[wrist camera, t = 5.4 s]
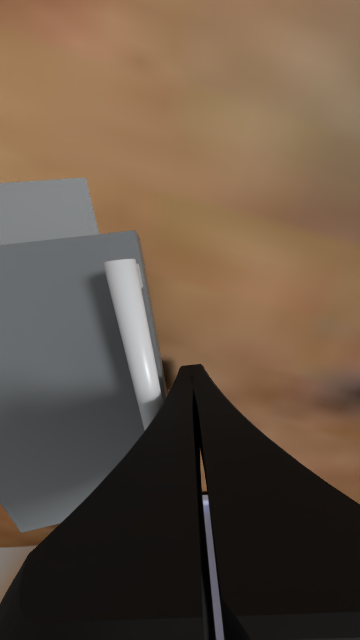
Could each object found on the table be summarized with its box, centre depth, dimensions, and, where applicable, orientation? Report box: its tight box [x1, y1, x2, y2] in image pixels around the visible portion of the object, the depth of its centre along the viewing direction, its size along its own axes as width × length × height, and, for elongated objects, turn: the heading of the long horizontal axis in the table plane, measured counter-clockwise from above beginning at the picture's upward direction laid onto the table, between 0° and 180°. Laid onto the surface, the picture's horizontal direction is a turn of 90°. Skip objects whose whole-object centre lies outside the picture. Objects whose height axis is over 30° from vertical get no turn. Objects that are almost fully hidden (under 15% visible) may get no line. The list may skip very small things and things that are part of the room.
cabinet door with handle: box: [0, 230, 168, 533], centre depth 8 cm, size 14×9×4 cm, turn 7°
